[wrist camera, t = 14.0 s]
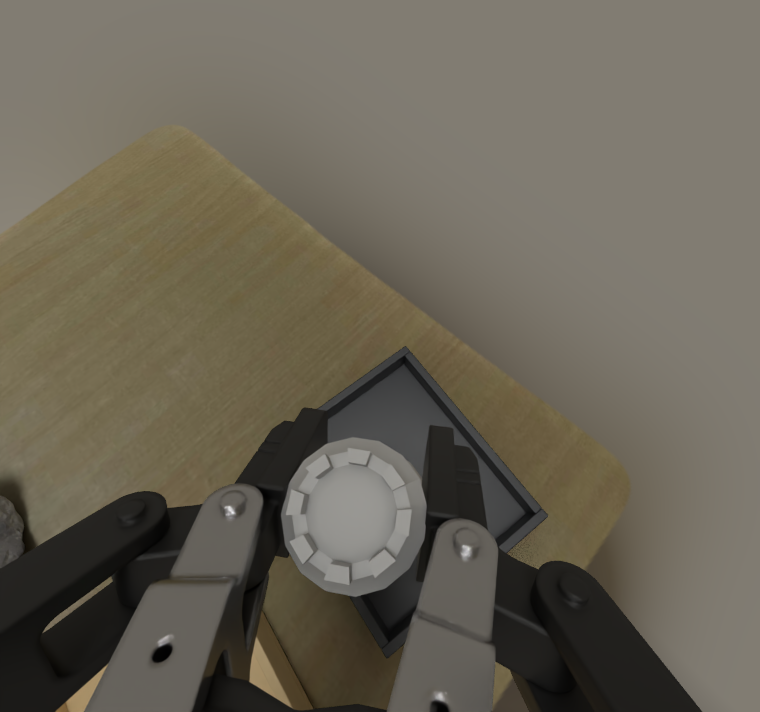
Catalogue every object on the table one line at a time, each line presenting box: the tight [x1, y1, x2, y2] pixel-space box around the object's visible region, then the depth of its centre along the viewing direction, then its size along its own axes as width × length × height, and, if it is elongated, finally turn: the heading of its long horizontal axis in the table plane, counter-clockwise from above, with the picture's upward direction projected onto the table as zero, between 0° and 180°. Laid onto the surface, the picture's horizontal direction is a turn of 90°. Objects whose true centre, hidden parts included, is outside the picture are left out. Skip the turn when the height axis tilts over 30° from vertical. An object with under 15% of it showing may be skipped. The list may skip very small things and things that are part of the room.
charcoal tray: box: [318, 346, 548, 658], centre depth 27 cm, size 15×13×2 cm
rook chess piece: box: [281, 437, 427, 597], centre depth 11 cm, size 4×4×8 cm
